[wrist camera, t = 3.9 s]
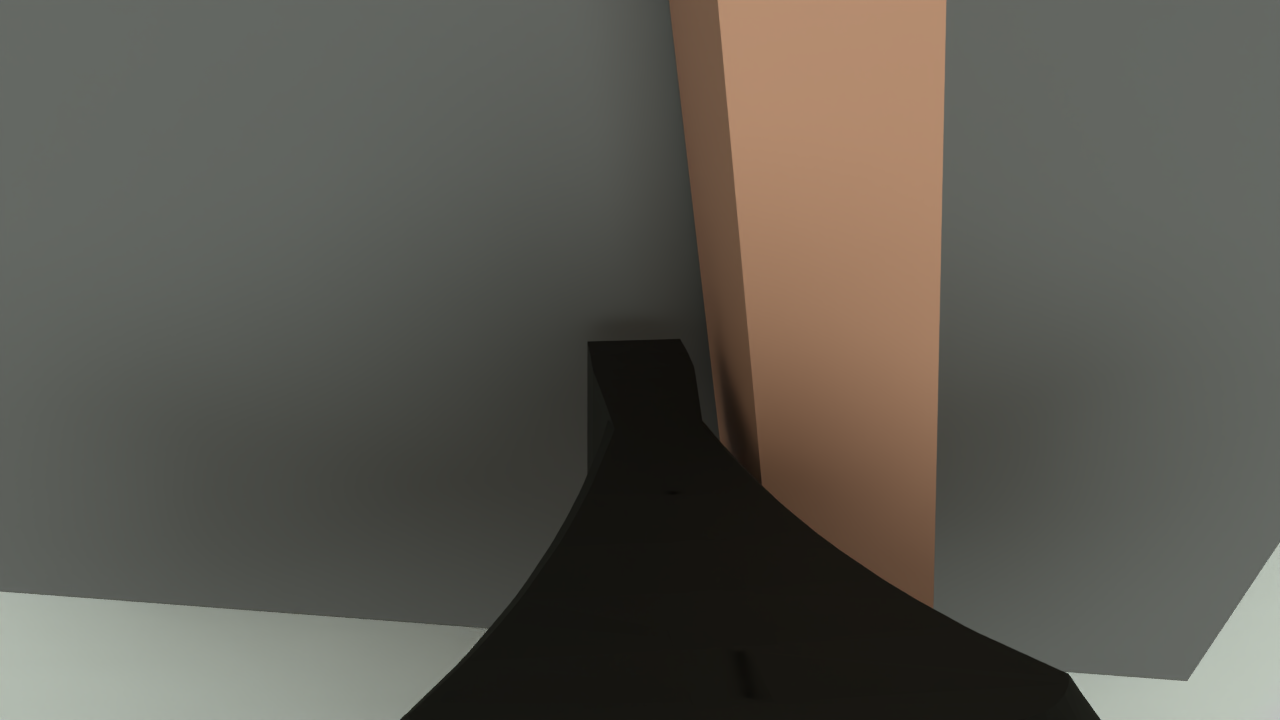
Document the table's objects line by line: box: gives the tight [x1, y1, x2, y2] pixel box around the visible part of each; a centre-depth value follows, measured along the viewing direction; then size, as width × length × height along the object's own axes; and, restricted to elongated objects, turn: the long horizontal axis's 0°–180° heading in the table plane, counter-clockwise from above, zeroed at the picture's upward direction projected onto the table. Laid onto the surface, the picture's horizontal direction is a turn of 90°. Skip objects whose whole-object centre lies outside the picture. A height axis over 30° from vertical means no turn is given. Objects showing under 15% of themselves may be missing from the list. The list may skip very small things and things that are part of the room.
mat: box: [0, 0, 1280, 681], centre depth 12 cm, size 16×19×1 cm
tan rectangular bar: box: [669, 0, 946, 608], centre depth 11 cm, size 10×2×4 cm, turn 8°
